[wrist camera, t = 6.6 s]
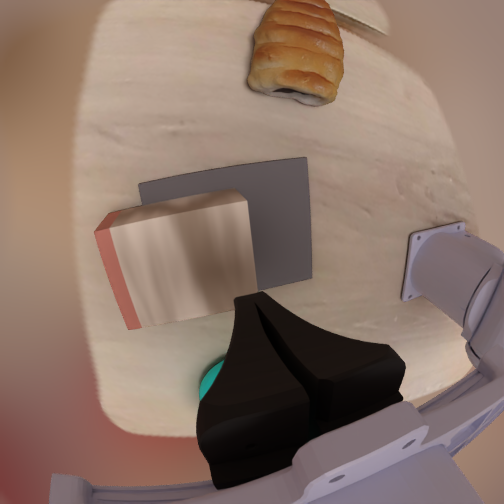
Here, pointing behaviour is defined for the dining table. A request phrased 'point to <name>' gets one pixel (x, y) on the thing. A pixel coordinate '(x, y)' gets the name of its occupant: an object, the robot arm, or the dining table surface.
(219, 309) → the block
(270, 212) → the mat
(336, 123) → the dining table surface
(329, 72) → the pastry
